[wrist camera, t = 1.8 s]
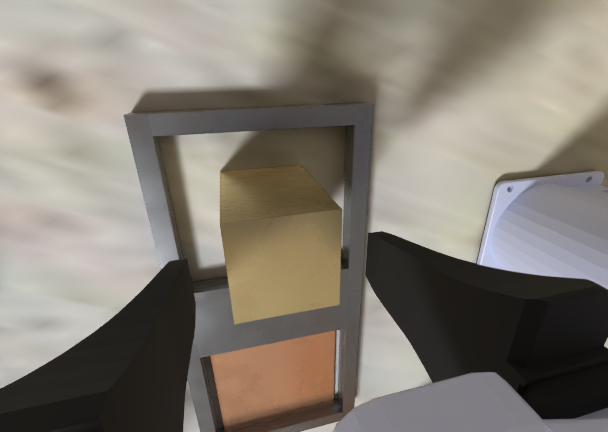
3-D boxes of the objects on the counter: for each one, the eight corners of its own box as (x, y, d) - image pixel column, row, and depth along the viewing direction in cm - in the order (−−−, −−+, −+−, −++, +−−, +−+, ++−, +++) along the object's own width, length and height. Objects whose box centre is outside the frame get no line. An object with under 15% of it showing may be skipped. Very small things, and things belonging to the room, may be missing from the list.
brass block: (300, 164, 18) (342, 209, 12) (301, 234, 20) (339, 304, 14) (219, 171, 17) (219, 223, 11) (229, 243, 19) (234, 324, 13)
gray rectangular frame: (363, 102, 18) (373, 103, 16) (348, 404, 28) (353, 417, 26) (130, 112, 15) (123, 115, 14) (207, 440, 25) (206, 456, 24)
